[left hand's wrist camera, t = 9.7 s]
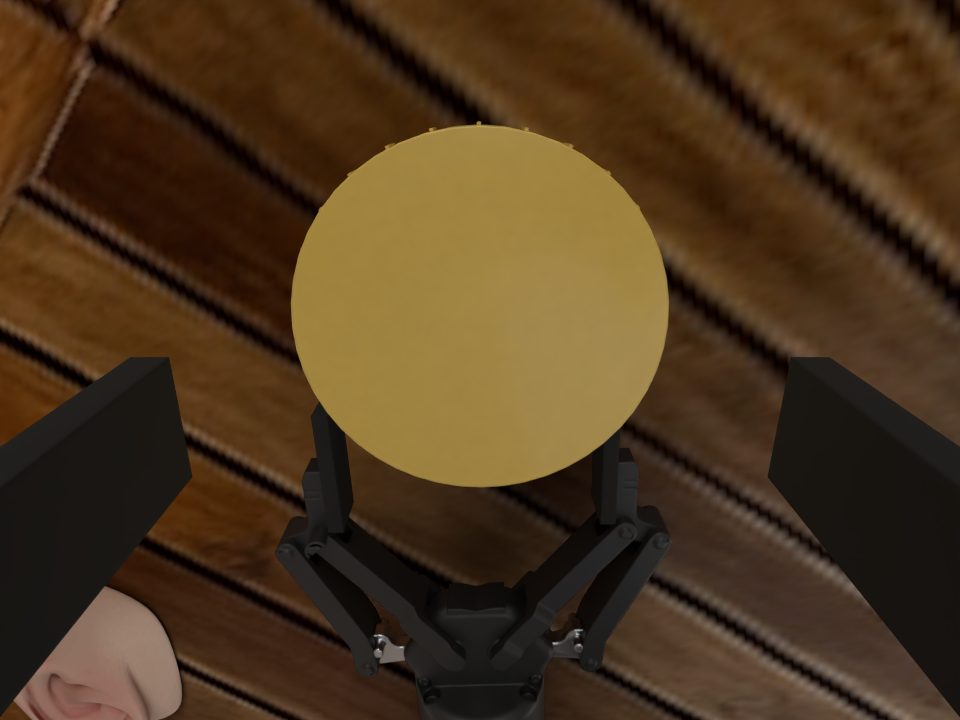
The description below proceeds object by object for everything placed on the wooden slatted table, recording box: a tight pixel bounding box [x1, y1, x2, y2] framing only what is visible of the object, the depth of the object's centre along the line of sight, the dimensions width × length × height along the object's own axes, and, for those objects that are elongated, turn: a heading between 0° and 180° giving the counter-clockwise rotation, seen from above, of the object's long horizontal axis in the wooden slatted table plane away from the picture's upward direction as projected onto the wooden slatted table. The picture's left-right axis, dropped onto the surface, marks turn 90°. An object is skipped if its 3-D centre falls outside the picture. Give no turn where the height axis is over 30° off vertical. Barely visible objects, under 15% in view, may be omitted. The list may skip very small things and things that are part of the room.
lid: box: [291, 122, 669, 487], centre depth 19 cm, size 11×11×2 cm
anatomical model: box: [13, 586, 182, 720], centre depth 42 cm, size 13×4×12 cm
